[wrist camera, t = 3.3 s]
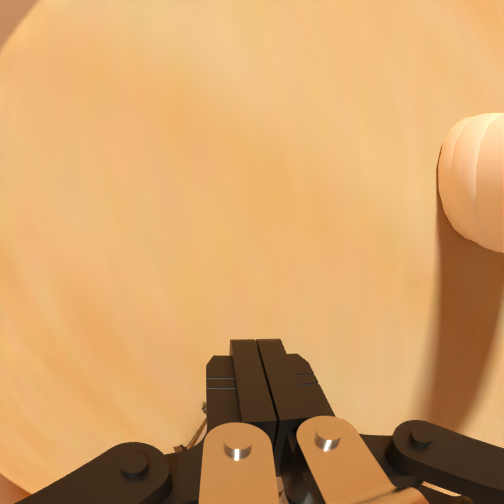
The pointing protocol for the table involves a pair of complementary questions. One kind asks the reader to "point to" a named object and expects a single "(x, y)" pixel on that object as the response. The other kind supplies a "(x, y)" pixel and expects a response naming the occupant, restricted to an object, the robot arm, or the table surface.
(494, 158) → the bottle
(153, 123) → the table surface
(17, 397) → the table surface
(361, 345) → the table surface
